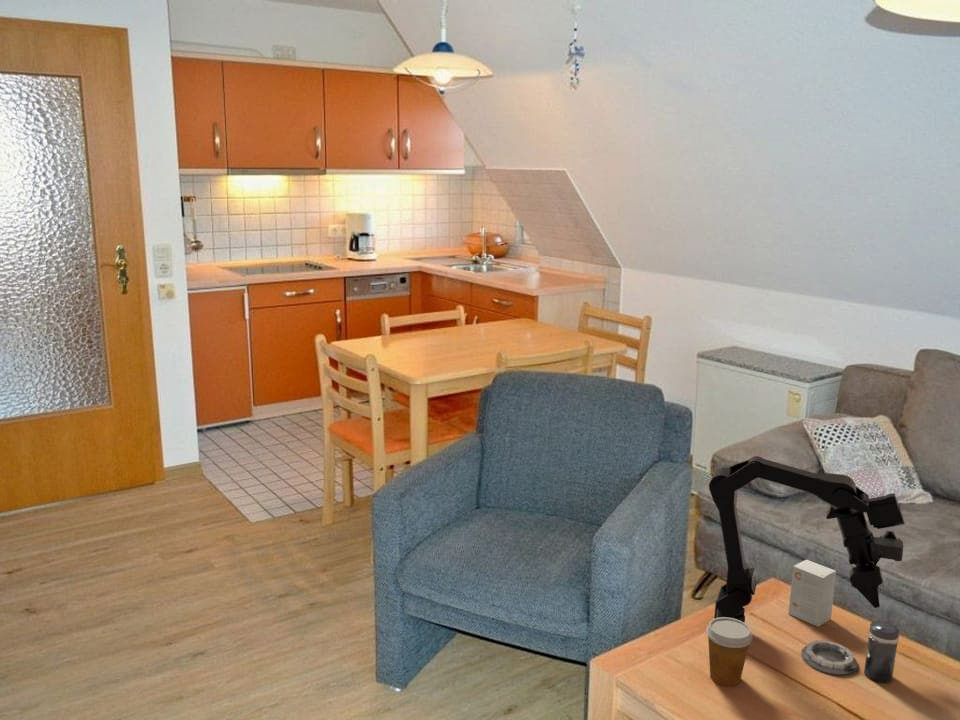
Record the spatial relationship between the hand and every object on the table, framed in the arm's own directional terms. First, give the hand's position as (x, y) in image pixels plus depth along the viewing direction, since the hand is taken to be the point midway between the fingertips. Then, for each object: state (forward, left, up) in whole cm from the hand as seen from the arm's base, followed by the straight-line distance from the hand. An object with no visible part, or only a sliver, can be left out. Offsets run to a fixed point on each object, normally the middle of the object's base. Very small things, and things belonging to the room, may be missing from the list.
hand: (876, 597), depth 186 cm
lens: (+5, -4, -15) cm, 16 cm away
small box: (-19, +4, -15) cm, 25 cm away
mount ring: (-4, -8, -15) cm, 18 cm away
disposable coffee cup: (-11, -34, -15) cm, 39 cm away
